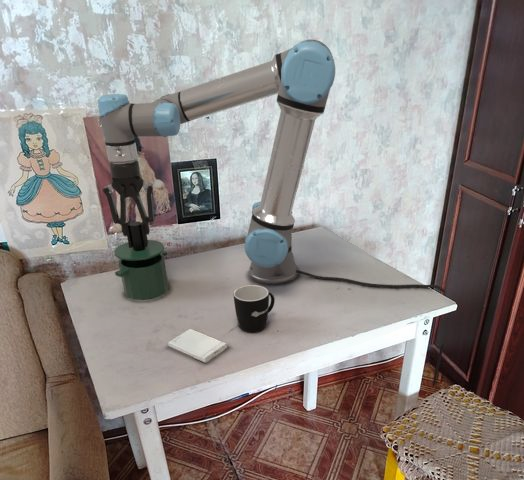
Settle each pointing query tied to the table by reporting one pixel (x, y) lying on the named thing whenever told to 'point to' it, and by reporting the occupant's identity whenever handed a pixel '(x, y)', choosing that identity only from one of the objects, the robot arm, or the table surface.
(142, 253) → the lid
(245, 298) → the mug
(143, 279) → the pot
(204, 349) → the hard drive
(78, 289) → the table surface
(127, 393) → the table surface
